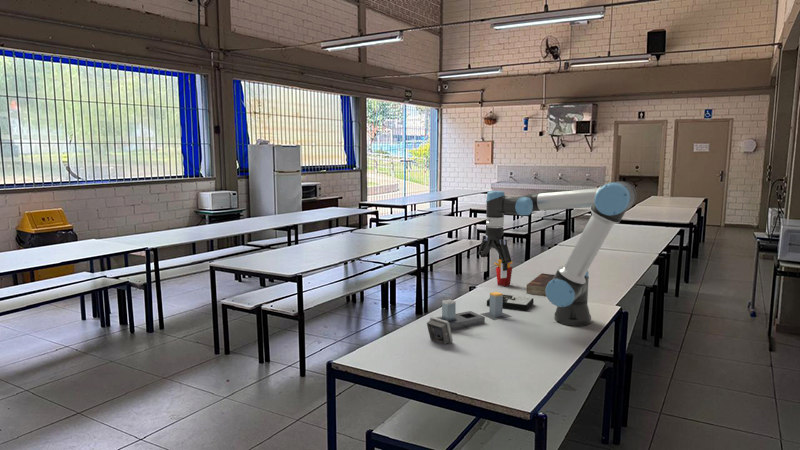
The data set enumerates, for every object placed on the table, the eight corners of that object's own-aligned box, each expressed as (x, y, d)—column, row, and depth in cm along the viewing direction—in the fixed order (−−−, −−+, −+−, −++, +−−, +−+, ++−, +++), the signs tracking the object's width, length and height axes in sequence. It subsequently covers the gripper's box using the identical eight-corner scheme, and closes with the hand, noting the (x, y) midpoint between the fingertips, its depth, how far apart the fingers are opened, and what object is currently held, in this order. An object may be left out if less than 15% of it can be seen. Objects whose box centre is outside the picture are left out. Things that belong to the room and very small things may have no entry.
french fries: (512, 284, 292) (513, 257, 290) (504, 287, 286) (504, 260, 284) (498, 282, 298) (499, 255, 296) (490, 285, 292) (490, 258, 290)
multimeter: (494, 300, 264) (494, 290, 263) (533, 305, 255) (534, 295, 254) (486, 307, 252) (486, 297, 251) (526, 313, 243) (527, 302, 243)
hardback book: (563, 298, 266) (563, 289, 265) (526, 294, 275) (526, 284, 274) (576, 285, 290) (576, 276, 290) (541, 282, 300) (541, 273, 299)
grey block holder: (484, 323, 227) (484, 298, 226) (445, 331, 218) (445, 305, 216) (470, 317, 236) (470, 293, 234) (432, 325, 226) (432, 299, 225)
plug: (502, 315, 237) (502, 293, 236) (495, 317, 235) (495, 294, 234) (496, 313, 240) (496, 291, 239) (489, 314, 239) (489, 292, 237)
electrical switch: (453, 342, 206) (451, 320, 204) (444, 347, 202) (442, 324, 200) (435, 337, 212) (433, 314, 210) (426, 341, 209) (424, 319, 207)
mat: (512, 317, 236) (512, 316, 236) (494, 320, 231) (494, 319, 231) (497, 311, 245) (497, 310, 245) (479, 314, 240) (479, 313, 240)
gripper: (470, 223, 241) (469, 269, 244) (506, 231, 219) (505, 281, 222) (484, 222, 244) (483, 267, 247) (520, 229, 222) (519, 279, 225)
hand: (493, 274), depth 235 cm, fingers open, 13 cm apart
